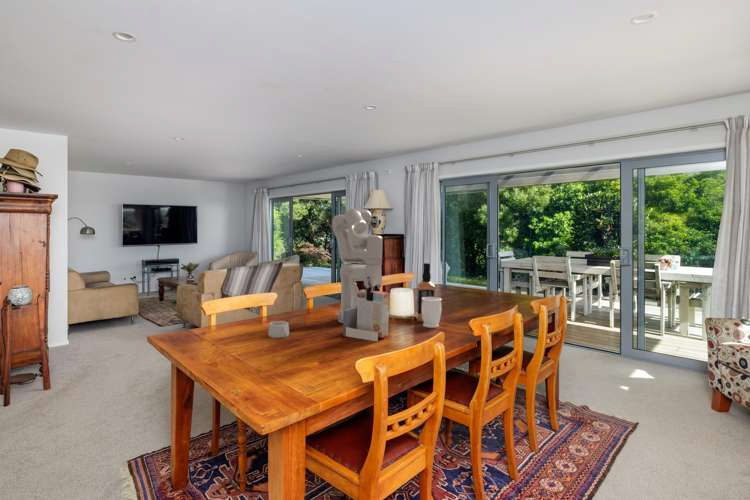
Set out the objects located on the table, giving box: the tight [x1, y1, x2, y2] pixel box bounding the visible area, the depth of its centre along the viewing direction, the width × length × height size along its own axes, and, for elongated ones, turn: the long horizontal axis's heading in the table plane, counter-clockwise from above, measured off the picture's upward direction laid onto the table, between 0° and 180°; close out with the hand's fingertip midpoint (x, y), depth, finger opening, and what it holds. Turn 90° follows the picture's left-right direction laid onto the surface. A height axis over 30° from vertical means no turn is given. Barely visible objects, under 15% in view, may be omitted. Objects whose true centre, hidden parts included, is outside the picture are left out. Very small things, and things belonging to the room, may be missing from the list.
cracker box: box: [357, 289, 389, 339], centre depth 192 cm, size 14×6×21 cm, turn 59°
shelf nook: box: [342, 307, 389, 342], centre depth 194 cm, size 18×12×12 cm, turn 63°
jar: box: [421, 296, 442, 329], centre depth 214 cm, size 11×10×15 cm
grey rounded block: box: [267, 320, 290, 339], centre depth 190 cm, size 12×10×6 cm
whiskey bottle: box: [415, 262, 436, 322], centre depth 229 cm, size 10×10×32 cm
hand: (372, 299), depth 191 cm, fingers closed on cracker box, 6 cm apart
